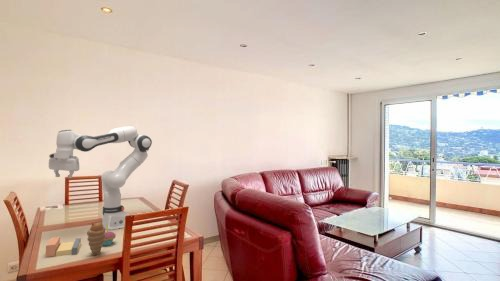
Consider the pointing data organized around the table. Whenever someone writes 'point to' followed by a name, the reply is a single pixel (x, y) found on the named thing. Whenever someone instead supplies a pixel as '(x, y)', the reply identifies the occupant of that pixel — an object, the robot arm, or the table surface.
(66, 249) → the yellow slab with bar
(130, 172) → the robot arm
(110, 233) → the cupcake
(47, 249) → the block
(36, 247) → the table surface
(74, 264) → the table surface
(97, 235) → the cat ice cream
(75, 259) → the table surface
